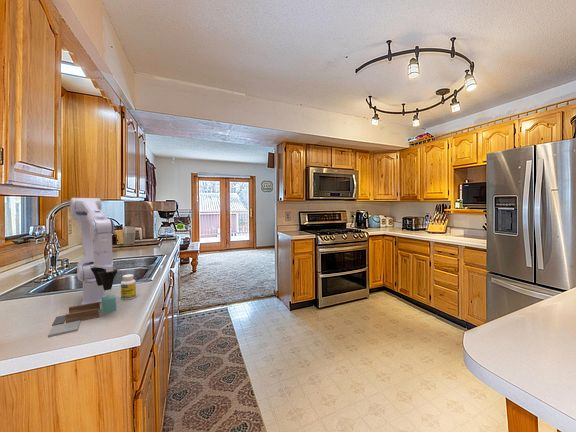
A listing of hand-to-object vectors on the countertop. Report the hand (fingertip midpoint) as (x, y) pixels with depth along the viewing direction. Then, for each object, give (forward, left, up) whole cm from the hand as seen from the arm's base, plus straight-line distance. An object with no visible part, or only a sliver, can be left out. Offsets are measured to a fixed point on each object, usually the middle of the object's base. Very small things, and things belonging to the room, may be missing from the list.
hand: (104, 287), depth 94 cm
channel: (0, -6, -9) cm, 11 cm away
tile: (+8, -10, -9) cm, 16 cm away
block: (-1, +1, -10) cm, 10 cm away
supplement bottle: (-12, +8, -10) cm, 17 cm away
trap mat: (0, -13, -9) cm, 16 cm away
